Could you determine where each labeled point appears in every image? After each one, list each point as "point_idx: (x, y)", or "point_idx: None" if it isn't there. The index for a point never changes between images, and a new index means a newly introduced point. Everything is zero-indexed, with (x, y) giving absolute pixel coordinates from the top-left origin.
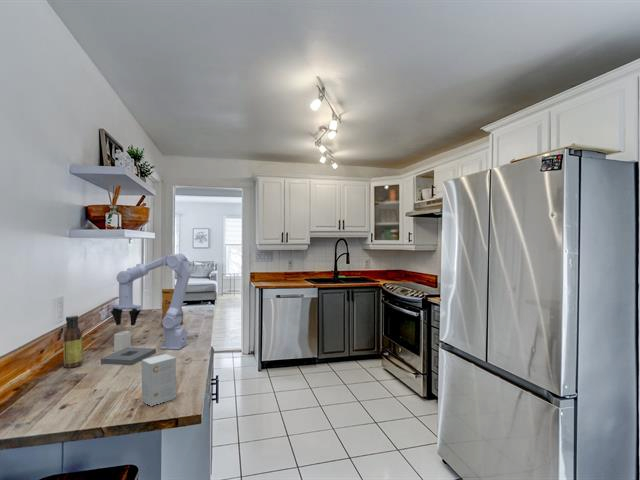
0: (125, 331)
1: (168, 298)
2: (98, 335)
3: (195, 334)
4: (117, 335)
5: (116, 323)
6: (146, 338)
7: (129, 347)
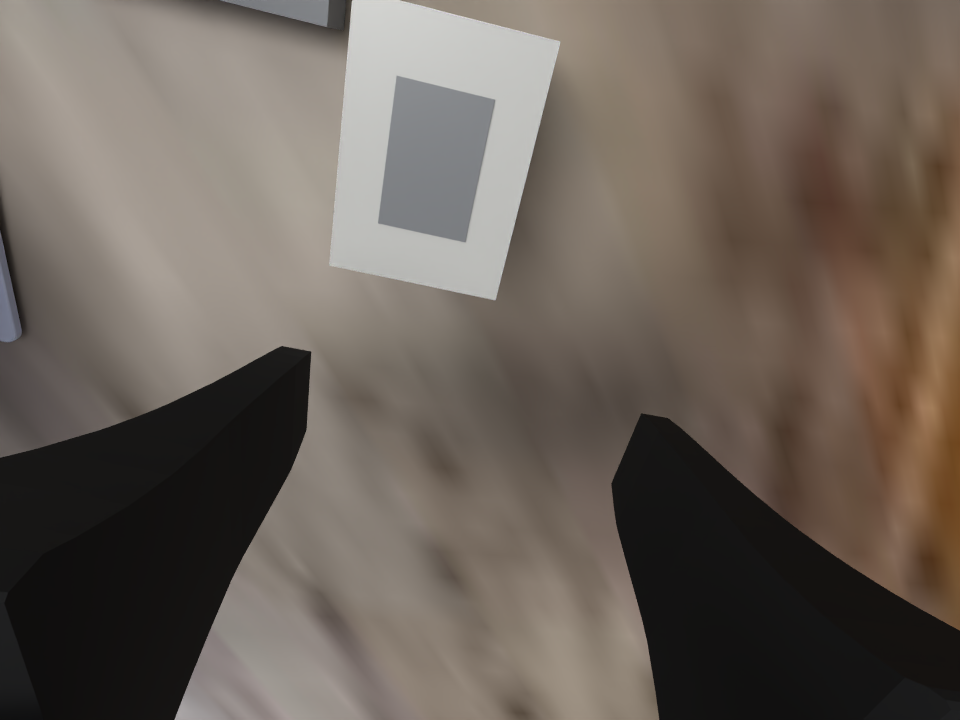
0: (431, 276)
1: None
2: None
3: None
4: (479, 22)
5: (672, 430)
6: (416, 544)
7: (290, 17)
